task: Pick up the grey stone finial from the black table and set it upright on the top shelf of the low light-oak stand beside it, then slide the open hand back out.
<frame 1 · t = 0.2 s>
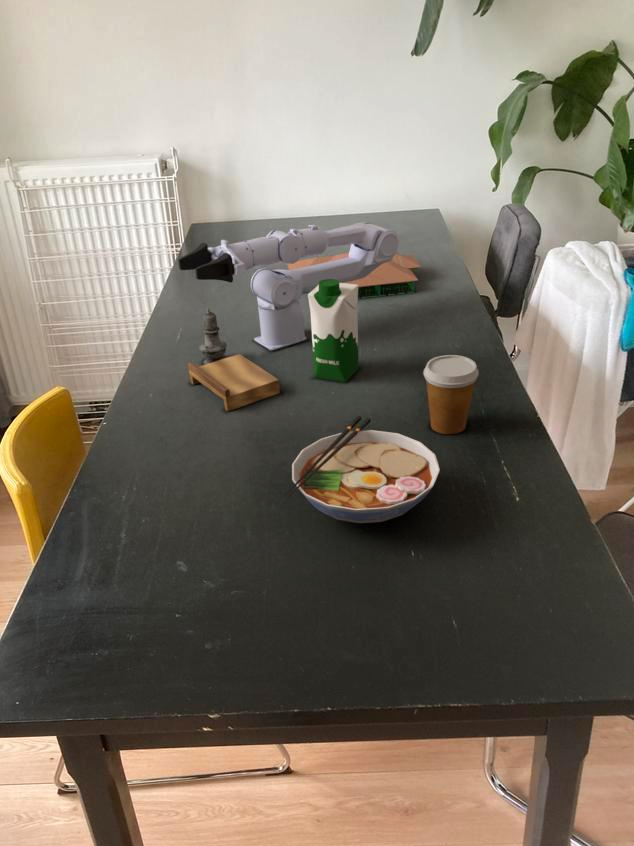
hand: (187, 269, 162), 21 cm above the table, tool horizontal, fingers open, 7 cm apart
disposable coffee cup: (448, 426, 147), on the table
shelf stand: (234, 388, 165), on the table
ramen bowl: (365, 507, 128), on the table
milk carton: (337, 373, 167), on the table
grey stone finial: (215, 362, 176), on the table
house: (355, 283, 210), on the table
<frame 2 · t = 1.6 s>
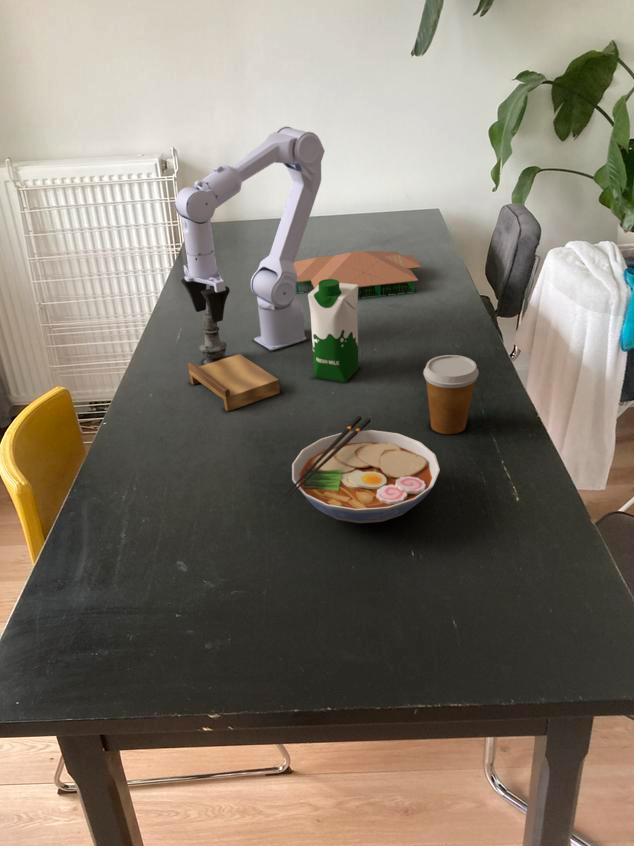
hand: (209, 315, 170), 10 cm above the table, tool pointing down, fingers open, 7 cm apart
nothing on the table moved.
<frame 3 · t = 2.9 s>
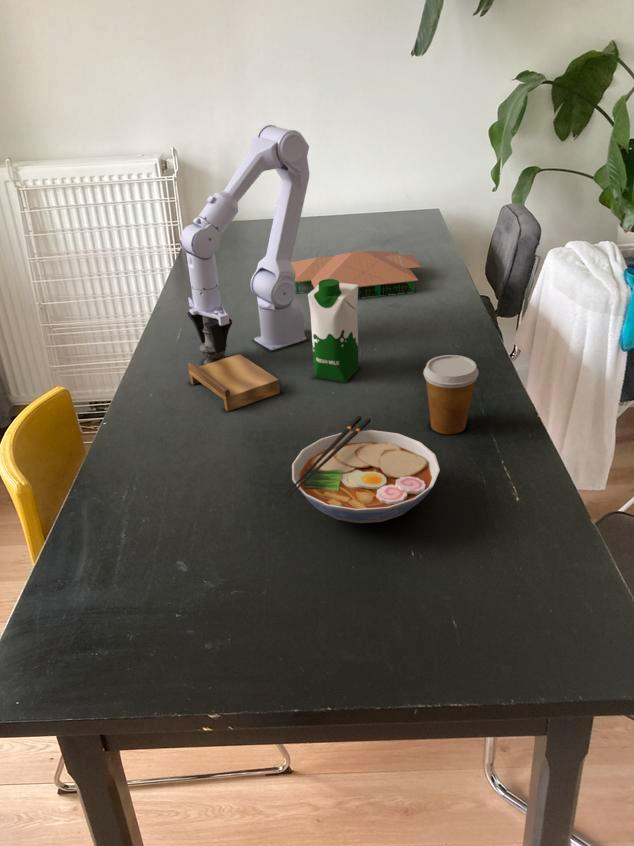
hand: (213, 346, 174), 3 cm above the table, tool pointing down, fingers closed on grey stone finial, 6 cm apart
grey stone finial: (215, 362, 176), on the table, touching gripper
everything else where it was.
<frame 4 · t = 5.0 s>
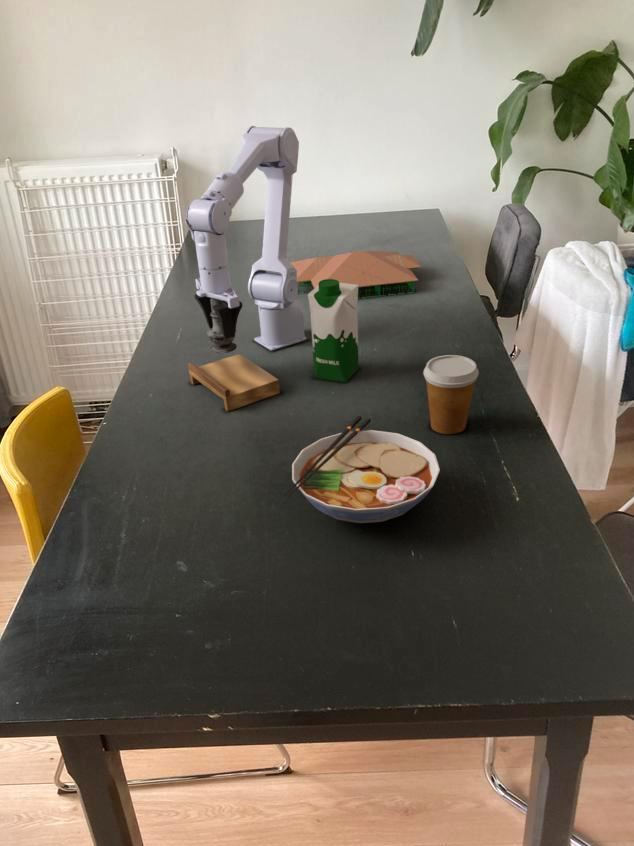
hand: (221, 332, 162), 10 cm above the table, tool pointing down, fingers closed on grey stone finial, 6 cm apart
grey stone finial: (223, 348, 164), point 7 cm above the table, touching gripper
everything else where it was.
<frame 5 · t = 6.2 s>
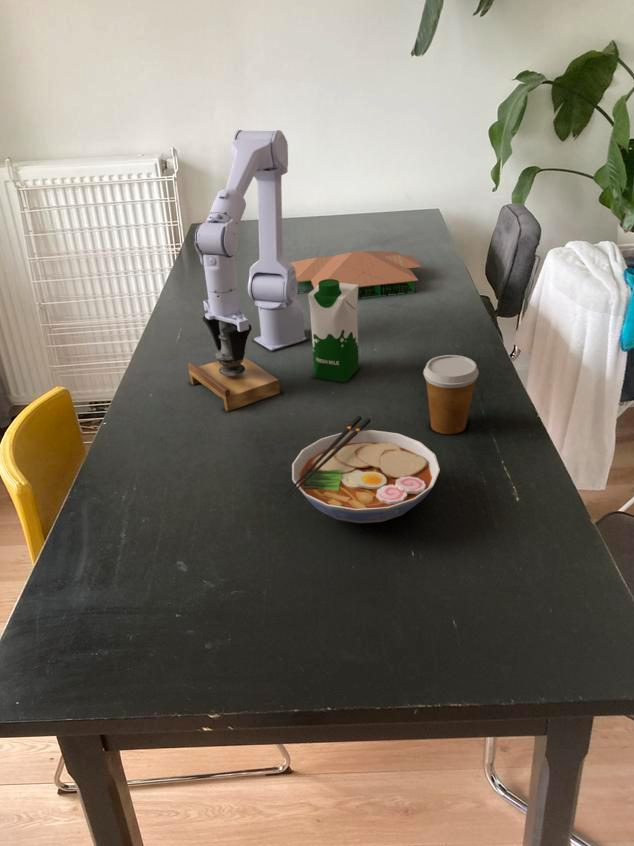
hand: (230, 354, 160), 7 cm above the table, tool pointing down, fingers closed on grey stone finial, 6 cm apart
grey stone finial: (232, 370, 162), point 4 cm above the table, touching gripper
everything else where it was.
when the fingers open (6 cm above the table, at t = 7.2 s): grey stone finial stays where it is, resting on shelf stand.
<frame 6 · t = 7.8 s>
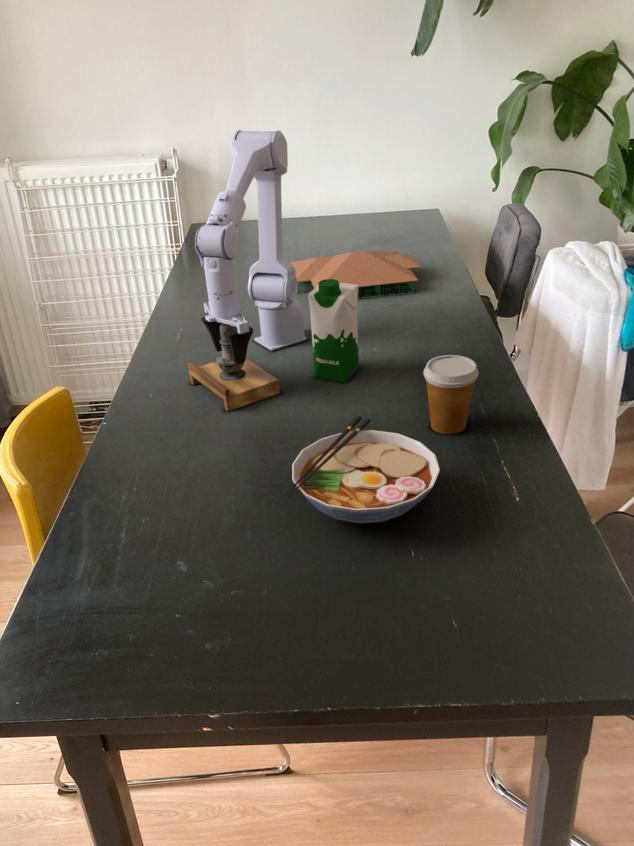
hand: (230, 356, 161), 7 cm above the table, tool pointing down, fingers open, 7 cm apart
grey stone finial: (232, 375, 163), point 3 cm above the table, touching shelf stand
everything else where it was.
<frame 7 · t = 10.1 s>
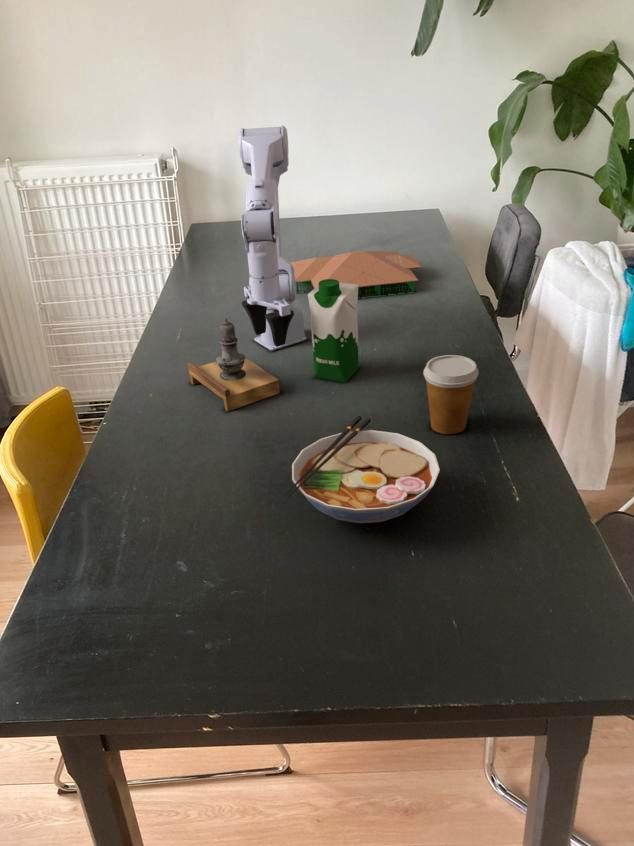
hand: (270, 339, 165), 8 cm above the table, tool pointing down, fingers open, 7 cm apart
nothing on the table moved.
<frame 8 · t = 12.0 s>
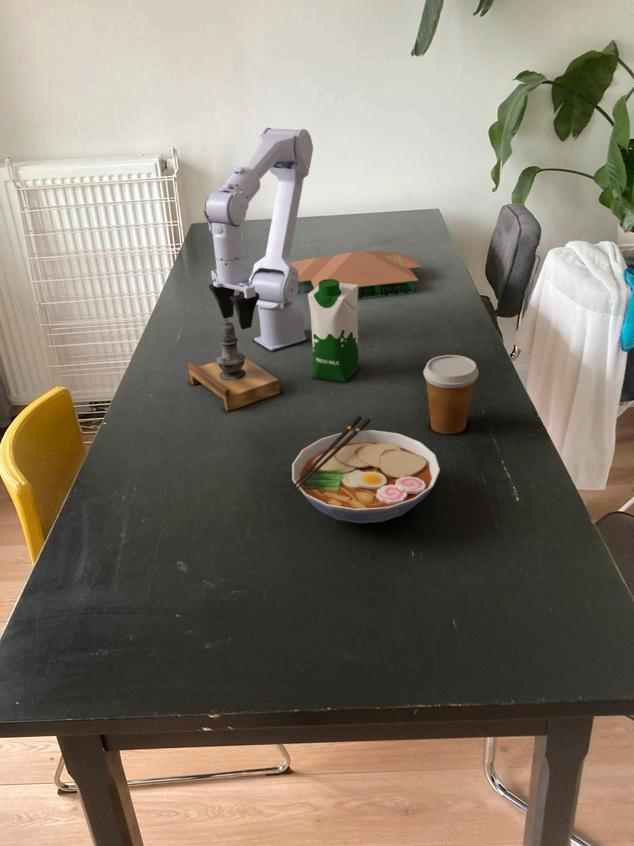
hand: (237, 322, 166), 10 cm above the table, tool pointing down, fingers open, 7 cm apart
nothing on the table moved.
at the end: grey stone finial inside the target area on the shelf stand (0.1 cm from its centre), point 2.8 cm above the shelf stand's base; grey stone finial tilted 0°; the gripper is holding nothing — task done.
